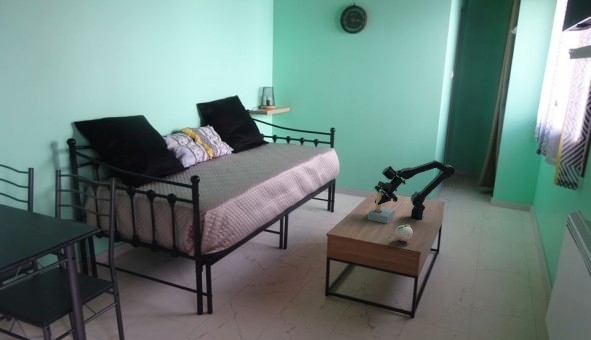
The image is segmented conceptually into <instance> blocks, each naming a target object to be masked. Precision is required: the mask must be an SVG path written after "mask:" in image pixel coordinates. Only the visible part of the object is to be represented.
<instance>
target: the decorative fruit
mask: <svg viewBox="0 0 591 340" xmlns="http://www.w3.org/2000/svg"><path fill="white" fill-rule="evenodd" d="M411 227H412V226H411V225H410V224H403V225H399V226H396V228H395V230H394V234H395V237H396V238H397V239H398V240H399V241H400V242H406V241H408V240H410V239H411V238H412V237H413V235H414V232H413V228H411Z"/></svg>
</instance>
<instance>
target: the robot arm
mask: <svg viewBox="0 0 591 340" xmlns="http://www.w3.org/2000/svg"><path fill="white" fill-rule="evenodd" d="M434 169H436V170H437V169H438V170H439V171H438V173H437V175H436V176H435V177H434V178H433V179H432V180H430V182H429V183H428V184H427V185H426V186H425V187H423V188H422V190H421V191H417V190H416V191H415V192H414V193H413V194H412V195H411V197H410V202H411V204H412V206H413V207H412V209H411V212H410V213H411V214H410V217H411V219H416V220H421V221H422V220H423V219H424V217H425V216H424V214H425V209H426V206H425V205H424V204H423V203H424V202H425V199H426V198H427V196H428V195H430V194H431V193H432V192H433V191H434V190H435V189H436V188H437V187H438V186H440V185H441V183H442V182H443V181H445V180H447V179H449V178H451V177H452V176H454V174H455V168H454V167H453V166H452V165H450V164H444V163H443V162H440V161H438V160H436V159H435V160H432V161H430V162H426V163H423V164H420V165H418V166H417V165H416V166H413V167H404V168H402V169H400V170H399V169H397V170H395V169H394V168H393V166H391V165H389V166H387V167H386V168H384V169H383V170H382V172H381V174H382V175H383V176H384V177H385V178H386V179H387V180H388V181H389V180H390V181H389V182H387V181H386V182H383V181H381V180H378V182H377V185H375V186H374V187H373V189H374V190H375V191H376V193H377V192H381V193H382V198H381V200H380V201H379V202H378V205H381V206H382V205H383V204H386V203H388V202H394V203H397V202H398V200H399V198H398V196H397V195H396V194H395V192H397V191H398V188H399V187H400V186H401V185H406V184H407V183H406V181H407V180H410V179H411V178H413V177H415V176H416V175H418V174H422V173H425V172H428V171H430V170H434ZM374 203H375V204H376V199H375V201H374Z"/></svg>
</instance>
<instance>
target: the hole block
mask: <svg viewBox="0 0 591 340" xmlns="http://www.w3.org/2000/svg"><path fill="white" fill-rule="evenodd" d="M375 208H376V206H374V207H373V208H372V209H371V210H370V211H368V213H367V220H369V221H374V222H378V223H382V224H388V223H389V222H390V221H391V220H392V219H393V218H394V217H395V213H396V209H394V208H391V207H390V208H388V207H384V206H381V209H380V213H376V212H375Z"/></svg>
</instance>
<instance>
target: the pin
mask: <svg viewBox="0 0 591 340" xmlns="http://www.w3.org/2000/svg"><path fill="white" fill-rule="evenodd" d="M381 198H382V193H381V192H377V191H376V197H375V200H376V203H375V207H376V208H375V207H374V208H375V212H376V213H380V209H381V207H382V204H381V205H378V202H379V201H380V200H381Z"/></svg>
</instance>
